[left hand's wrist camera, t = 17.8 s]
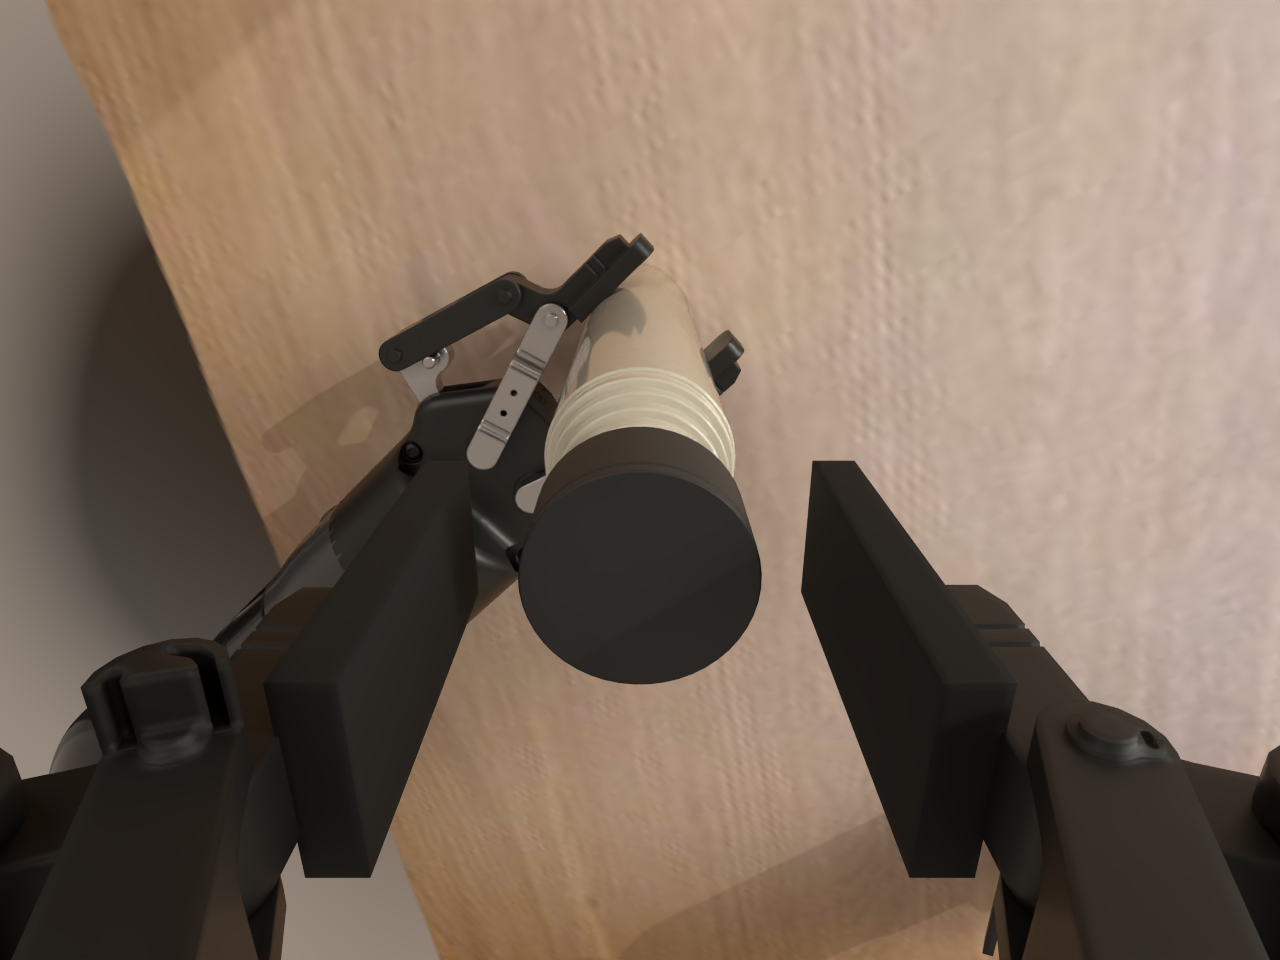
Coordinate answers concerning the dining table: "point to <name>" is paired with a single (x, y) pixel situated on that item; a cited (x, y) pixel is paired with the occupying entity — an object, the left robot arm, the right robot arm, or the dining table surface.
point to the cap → (639, 558)
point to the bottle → (640, 372)
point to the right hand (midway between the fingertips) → (690, 292)
